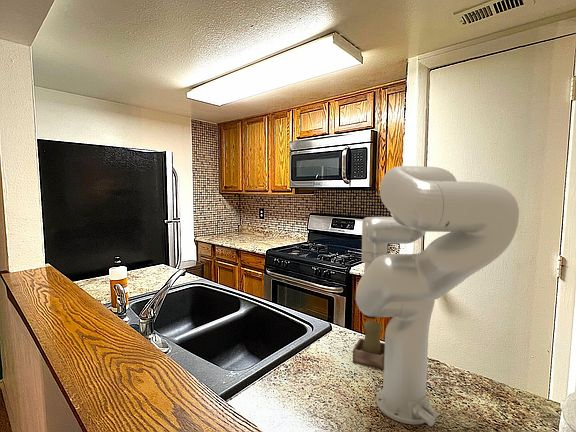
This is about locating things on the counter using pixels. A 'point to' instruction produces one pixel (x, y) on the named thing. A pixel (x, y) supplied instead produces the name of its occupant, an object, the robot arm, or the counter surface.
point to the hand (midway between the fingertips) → (373, 313)
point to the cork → (372, 337)
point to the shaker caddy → (368, 356)
